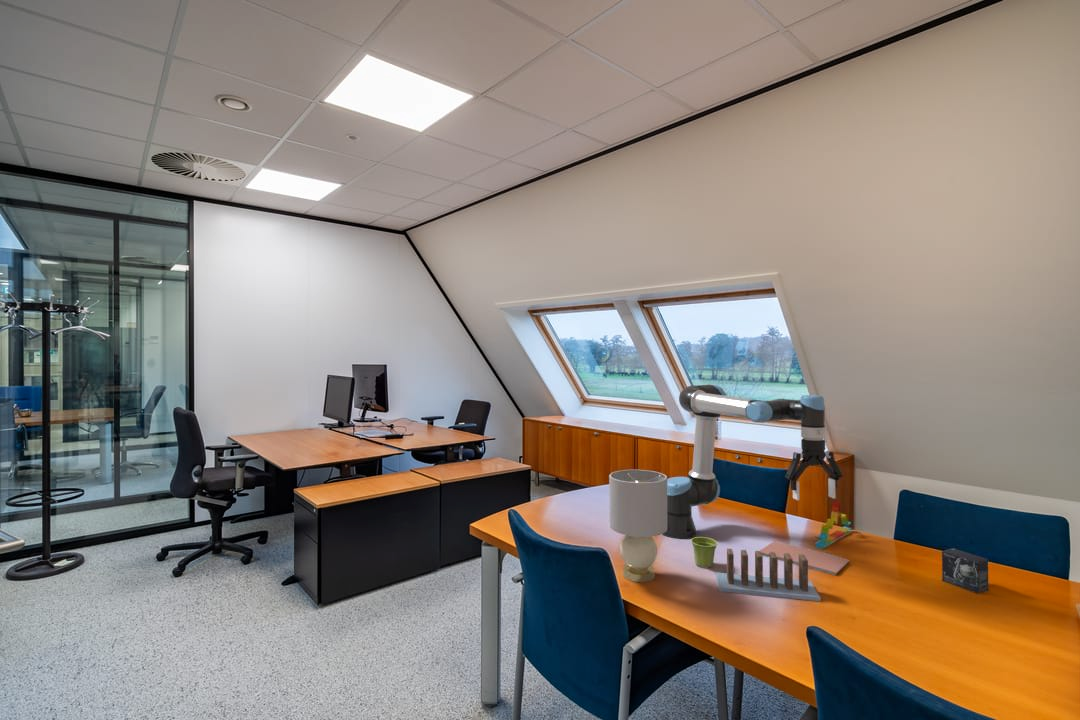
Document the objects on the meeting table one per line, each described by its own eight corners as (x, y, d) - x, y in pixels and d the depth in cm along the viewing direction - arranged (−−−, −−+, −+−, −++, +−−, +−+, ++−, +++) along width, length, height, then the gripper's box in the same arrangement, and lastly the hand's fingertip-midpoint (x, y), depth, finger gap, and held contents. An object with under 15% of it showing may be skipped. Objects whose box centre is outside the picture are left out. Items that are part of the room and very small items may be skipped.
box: (941, 581, 173) (940, 550, 173) (952, 577, 176) (952, 547, 175) (978, 594, 163) (978, 562, 163) (989, 590, 166) (989, 558, 166)
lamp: (631, 559, 194) (631, 467, 193) (679, 575, 179) (678, 475, 179) (598, 575, 179) (597, 476, 179) (646, 594, 165) (646, 486, 165)
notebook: (850, 563, 189) (850, 558, 189) (836, 577, 178) (836, 571, 178) (775, 544, 209) (775, 539, 209) (758, 555, 197) (758, 550, 197)
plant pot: (717, 561, 191) (717, 538, 191) (717, 571, 182) (717, 547, 182) (691, 558, 194) (691, 535, 194) (690, 568, 185) (690, 544, 185)
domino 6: (802, 591, 164) (802, 560, 164) (798, 584, 169) (798, 554, 169) (808, 591, 163) (807, 560, 163) (804, 584, 168) (803, 554, 168)
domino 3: (757, 586, 167) (757, 556, 167) (755, 580, 172) (755, 550, 172) (762, 587, 167) (762, 556, 167) (760, 580, 172) (760, 551, 172)
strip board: (719, 591, 167) (719, 587, 167) (716, 575, 179) (716, 572, 178) (820, 601, 159) (820, 597, 159) (810, 584, 171) (810, 581, 171)
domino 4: (772, 588, 166) (772, 557, 166) (769, 581, 171) (769, 551, 171) (777, 588, 166) (777, 558, 166) (774, 581, 171) (774, 552, 170)
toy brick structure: (823, 550, 202) (823, 512, 202) (814, 547, 204) (814, 510, 204) (852, 532, 221) (852, 498, 221) (844, 530, 224) (844, 496, 224)
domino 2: (743, 585, 168) (742, 555, 168) (741, 578, 173) (740, 549, 173) (748, 585, 168) (748, 555, 168) (746, 579, 173) (745, 550, 173)
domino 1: (728, 583, 169) (728, 553, 169) (727, 577, 174) (726, 548, 174) (733, 584, 169) (733, 554, 169) (732, 577, 174) (731, 548, 174)
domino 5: (787, 589, 165) (787, 558, 165) (784, 582, 170) (783, 553, 170) (792, 590, 165) (792, 559, 165) (789, 583, 169) (789, 553, 169)
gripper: (786, 441, 176) (787, 502, 176) (853, 439, 178) (854, 499, 178) (774, 438, 183) (774, 497, 183) (838, 436, 186) (839, 494, 186)
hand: (814, 498), depth 181 cm, fingers open, 13 cm apart
